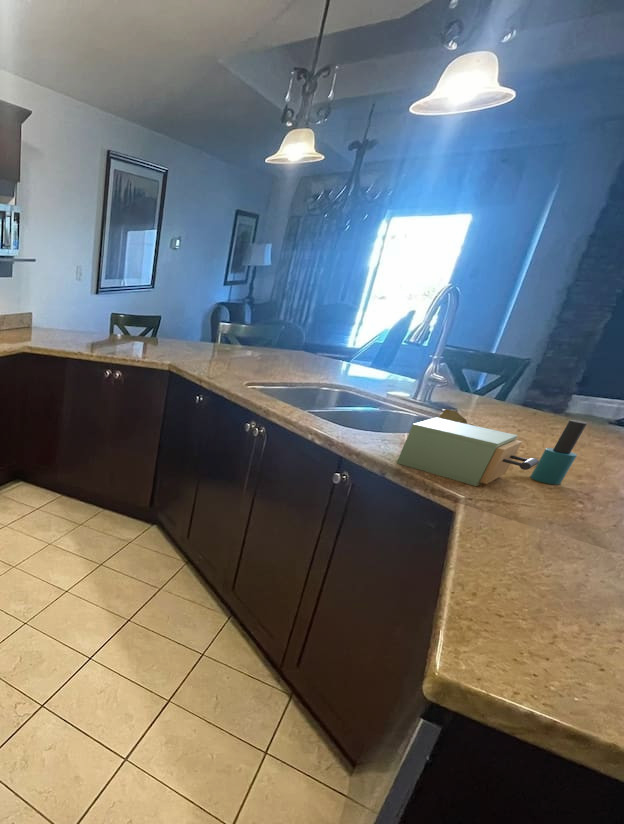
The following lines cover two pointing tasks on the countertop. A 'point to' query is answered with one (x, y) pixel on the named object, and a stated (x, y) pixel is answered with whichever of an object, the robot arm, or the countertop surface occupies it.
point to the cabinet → (452, 449)
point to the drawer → (505, 461)
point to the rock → (452, 416)
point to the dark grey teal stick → (559, 455)
